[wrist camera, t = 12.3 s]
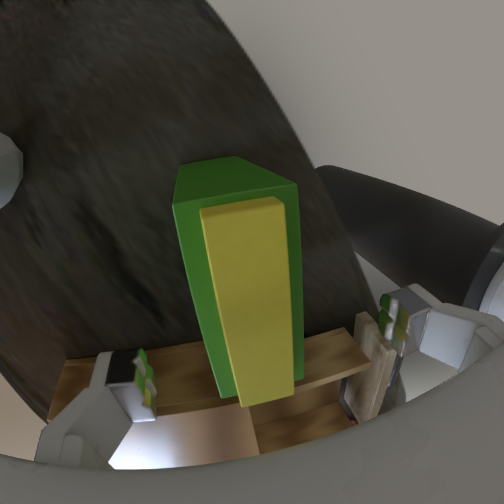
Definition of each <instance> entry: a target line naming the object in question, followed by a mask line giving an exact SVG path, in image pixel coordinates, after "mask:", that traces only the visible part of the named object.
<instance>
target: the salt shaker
mask: <svg viewBox="0 0 504 504" xmlns="http://www.w3.org/2000/svg"><path fill="white" fill-rule="evenodd" d="M22 178H23V153H22V152H21V151H20V150H19V149H18V148H17V147H16V145H15V144H14V142H13V141H12V140H11V138H9V137H8V136H6V135H4V134H2V133H0V208H2V207H3V206H4V205H5V204H7V203H8V202H9V201H10V200H11V199H12V197H13V195H14V193H15V191H16V189H17V187H18V186H19V184H20V182H21V180H22Z"/></svg>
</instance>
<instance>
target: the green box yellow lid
mask: <svg viewBox="0 0 504 504" xmlns="http://www.w3.org/2000/svg"><path fill="white" fill-rule="evenodd" d="M172 209H173V214H174V219H175V224H176V229H177V234H178V238H179V243H180V248H181V252H182V257H183V261H184V265H185V270H186V274H187V278H188V282H189V286H190V290H191V294H192V298H193V302H194V306H195V310H196V314H197V318H198V322H199V325H200V329H201V333H202V336H203V340H204V343H205V347H206V350H207V354H208V357H209V361H210V364H211V368H212V371H213V374H214V378H215V381H216V384H217V387H218V390H219V394H220V397H221V398H227V397H232V396H237V395H238V397H239V401H240V405H241V407H247V406H252V405H256V404H260V403H264V402H268V401H272V400H276V399H280V398H283V397H287V396H290V395H294V393H295V391H294V381H297V380H300V379H303V378H304V309H303V276H302V252H301V232H300V215H299V200H298V186H297V184H296V183H294V182H292V181H290V180H288V179H286V178H284V177H282V176H279V175H277V174H275V173H273V172H271V171H269V170H266V169H264V168H262V167H260V166H257V165H255V164H253V163H251V162H248V161H246V160H244V159H241V158H239V157H237V156H230V157H224V158H217V159H211V160H205V161H199V162H193V163H188V164H182V165H179V170H178V175H177V180H176V186H175V191H174V197H173V203H172Z"/></svg>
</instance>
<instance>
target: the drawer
mask: <svg viewBox="0 0 504 504" xmlns="http://www.w3.org/2000/svg"><path fill="white" fill-rule="evenodd" d="M403 357H404V356H403ZM403 357H400V356H399V355H398V354H397V352H396V351H395V350H394V349H393V348H392V347H391V341H390V340H387V339H384V337H383V336H382V335H381V333H380V331H379V329H378V324H377V323H376V322H375V321H374V319H373V318H372V317H371V316H370V315H369V314H368V313H367V312H366V311H365V312H362V313H359V314H356V317H355V326H354V335H353V338H352V336H351V335H350V334H349V333H348V332H347V330H346V329H345V328H344V327H342V328H339V329H336V330H332V331H329V332H326V333H322V334H319V335H315V336H312V337H308V338H305V339H304V378H303V379H300V380H297V381H294V391H295V393H294V395H290V396H287V397H283V398H280V399H276V400H272V401H268V402H264V403H260V404H256V405H252V406H249V407H250V412H251V416H252V421H253V425H254V430H255V434H256V438H257V443H258V447H259V451H260V454H264V453H268V452H272V451H277V450H280V449H284V448H288V447H292V446H295V445H299V444H302V443H305V442H309V441H312V440H315V439H318V438H321V437H324V436H327V435H330V434H333V433H336V432H339V431H341V430H344V429H347V428H349V427H352V426H353V425H352V424H351V422H350V420H349V418H348V417H347V415H346V413H345V411H344V410H343V408H342V406H341V404H340V403H339V401H338V400H339V394H340V388H341V381H342V378H344V377H347V376H348V378H347V384H346V390H345V395H344V399H345V401H346V402H347V404H348V406H349V407H350V409H351V411H352V412H353V414H354V416H355V417H356V419H357V421H358V422H359V424H360V423H362V422H365V421H367V420H369V419H372V418H374V417H376V416H377V415H378V413H379V410H380V407H381V404H382V401H383V398H384V395H385V392H386V389H387V386H388V387H392V386H394V385H395V383H396V380H397V376H398V373H399V370H400V367H401V363H402V360H403Z"/></svg>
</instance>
